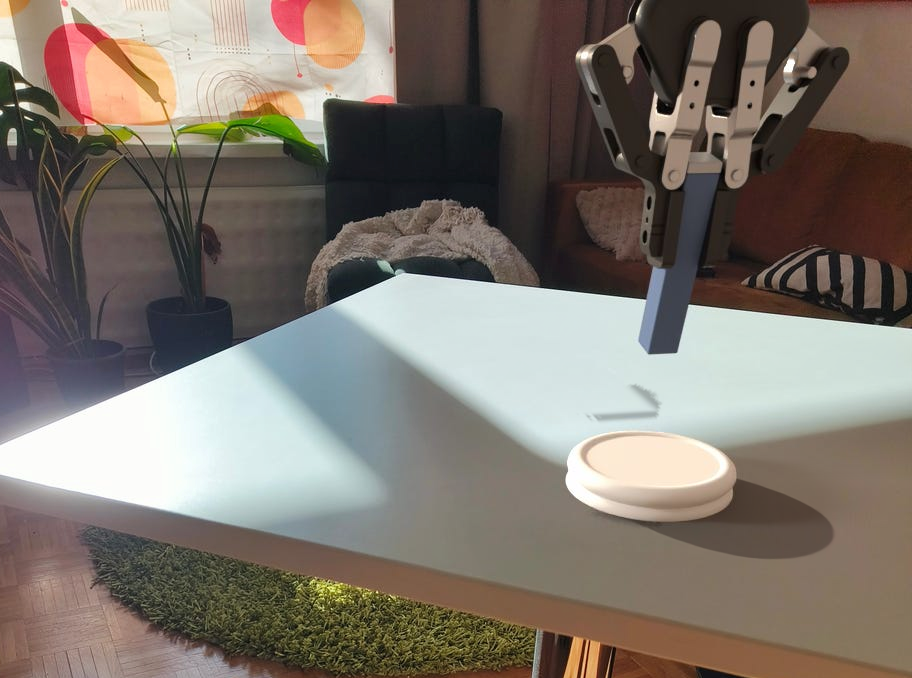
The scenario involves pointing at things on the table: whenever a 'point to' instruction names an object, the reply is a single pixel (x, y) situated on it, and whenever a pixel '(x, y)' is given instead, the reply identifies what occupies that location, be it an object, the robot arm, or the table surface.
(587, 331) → the table surface
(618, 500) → the coaster
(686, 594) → the table surface
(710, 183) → the blue square bar
